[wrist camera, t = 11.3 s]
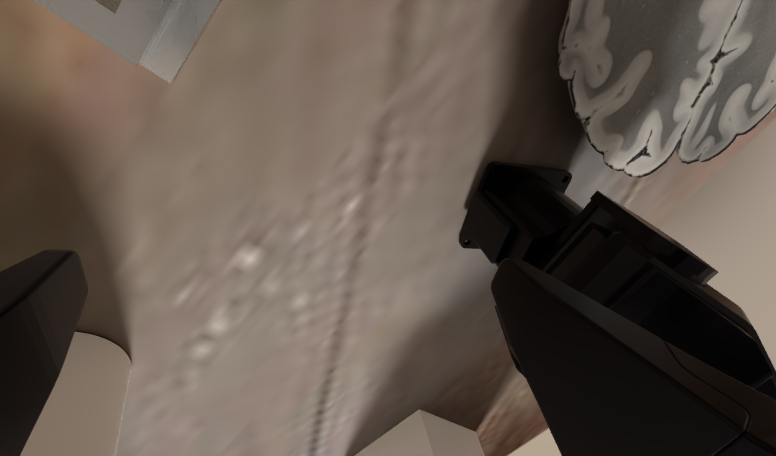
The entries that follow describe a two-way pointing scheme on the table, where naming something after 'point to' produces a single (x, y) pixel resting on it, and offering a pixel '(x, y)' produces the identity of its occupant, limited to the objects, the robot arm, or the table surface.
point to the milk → (425, 439)
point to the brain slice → (668, 76)
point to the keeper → (140, 28)
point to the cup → (84, 402)
